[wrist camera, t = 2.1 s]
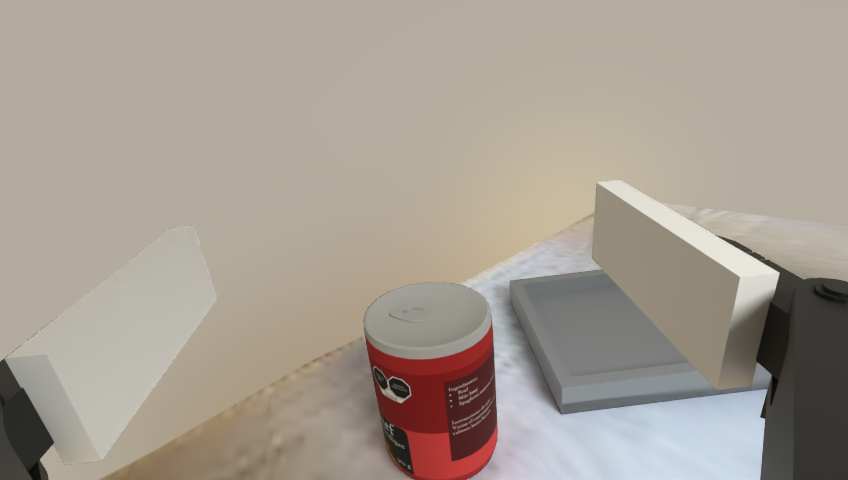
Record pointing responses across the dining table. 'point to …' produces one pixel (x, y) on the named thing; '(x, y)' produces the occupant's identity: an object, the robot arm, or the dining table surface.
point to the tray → (604, 346)
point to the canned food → (434, 378)
